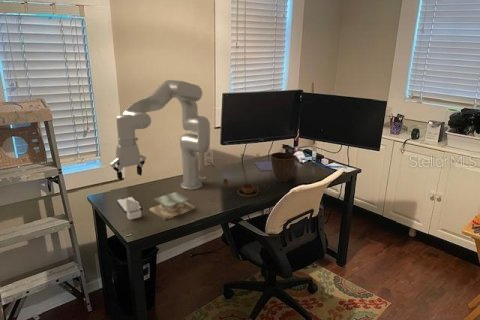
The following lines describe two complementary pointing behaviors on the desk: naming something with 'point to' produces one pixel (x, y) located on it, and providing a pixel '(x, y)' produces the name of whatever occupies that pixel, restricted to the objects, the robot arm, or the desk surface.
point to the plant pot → (282, 165)
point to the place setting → (245, 189)
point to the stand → (171, 205)
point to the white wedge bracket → (132, 209)
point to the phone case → (123, 203)
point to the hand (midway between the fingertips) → (130, 177)
